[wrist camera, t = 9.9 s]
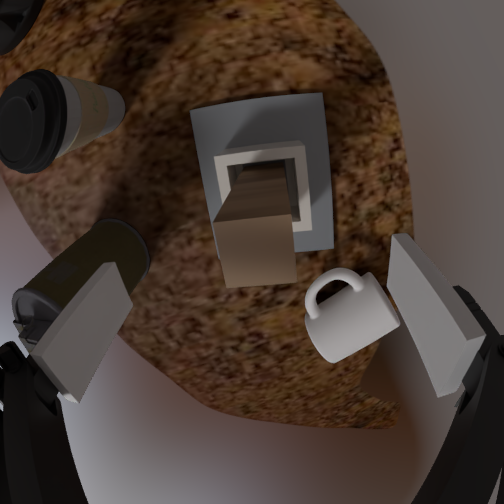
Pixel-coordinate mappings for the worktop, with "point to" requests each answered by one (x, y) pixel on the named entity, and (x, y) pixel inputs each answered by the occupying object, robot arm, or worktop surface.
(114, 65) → the worktop surface
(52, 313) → the canister
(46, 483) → the robot arm
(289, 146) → the white square holder
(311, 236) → the mat
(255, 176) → the brown wooden block
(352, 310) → the mug
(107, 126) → the coffee cup
